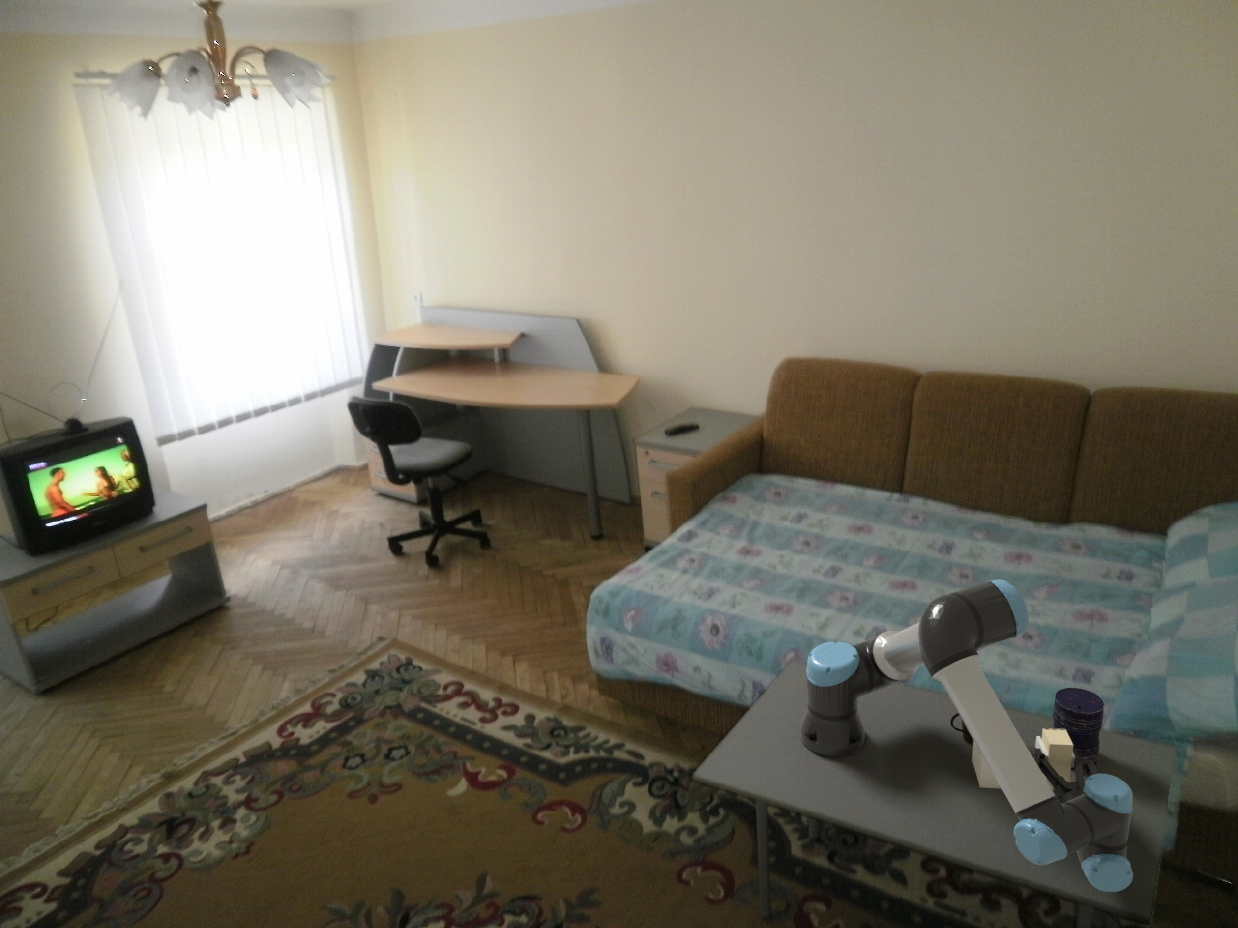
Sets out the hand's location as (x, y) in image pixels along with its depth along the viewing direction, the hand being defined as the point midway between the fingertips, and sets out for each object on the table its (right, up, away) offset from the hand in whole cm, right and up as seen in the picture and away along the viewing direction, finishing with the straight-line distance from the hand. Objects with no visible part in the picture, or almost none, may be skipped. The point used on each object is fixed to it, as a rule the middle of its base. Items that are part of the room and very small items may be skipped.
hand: (1050, 741), depth 191 cm
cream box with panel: (-11, -9, +7) cm, 16 cm away
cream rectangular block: (0, -8, -2) cm, 8 cm away
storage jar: (+10, -7, +10) cm, 16 cm away
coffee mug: (-10, -5, +19) cm, 22 cm away
